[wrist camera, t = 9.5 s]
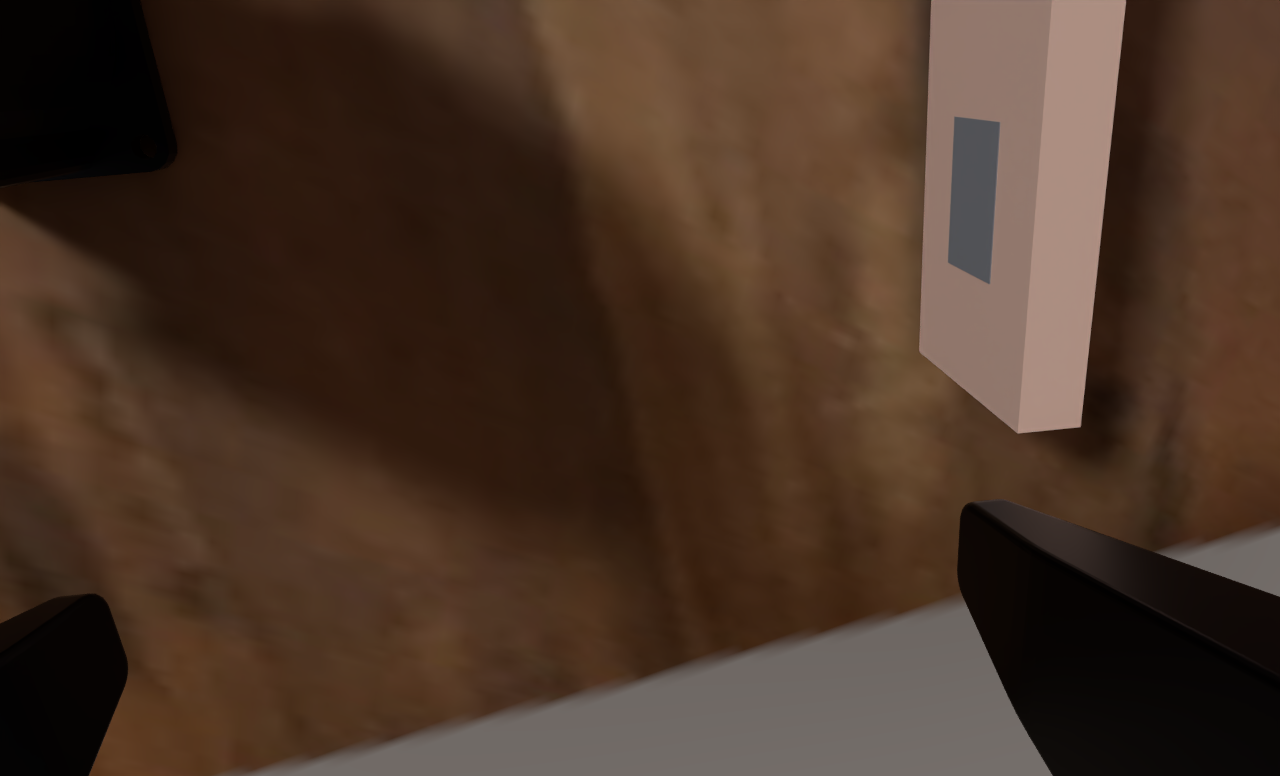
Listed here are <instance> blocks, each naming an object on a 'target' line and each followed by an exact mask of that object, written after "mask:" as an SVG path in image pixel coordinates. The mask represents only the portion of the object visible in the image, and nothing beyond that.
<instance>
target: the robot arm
mask: <svg viewBox="0 0 1280 776" xmlns="http://www.w3.org/2000/svg"><path fill="white" fill-rule="evenodd" d="M143 135H147V136H149V137H150V138H151V139H153V140H154V142H155V144H156V146H157V153H156V154H155V156H154V157H149V156H147V155H146V154H145V153H144V152H143V151H142V149H141V147H140V140H141V138H142V137H143ZM176 155H177V143H176V139H175V135H174V131H173V128H172V124H171V120H170V116H169V112H168V108H167V104H166V100H165V97H164V93H163V89H162V85H161V81H160V77H159V73H158V69H157V66H156V62H155V58H154V54H153V50H152V46H151V42H150V39H149V35H148V31H147V27H146V23H145V19H144V15H143V11H142V8H141V4H140V0H0V188H3V187H8V186H13V185H18V184H23V183H28V182H38V181H50V180H61V179H73V178H84V177H95V176H107V175H118V174H129V173H141V172H151V171H155V170H160V169H163V168H166V167H168V166H169V165H170V164H172V163H173V162H174V160H175V157H176ZM957 575H958V582H959V587H960V590H961V593H962V596H963V598H964V600H965V602H966V605H967V607H968V609H969V611H970V613H971V616H972V618H973V620H974V622H975V624H976V627H977V629H978V631H979V633H980V635H981V637H982V640H983V642H984V644H985V647H986V649H987V651H988V653H989V655H990V658H991V660H992V662H993V664H994V666H995V669H996V671H997V673H998V675H999V677H1000V680H1001V682H1002V684H1003V686H1004V689H1005V691H1006V693H1007V695H1008V697H1009V699H1010V701H1011V703H1012V705H1013V707H1014V709H1015V712H1016V714H1017V715H1018V717H1019V719H1020V721H1021V723H1022V724H1023V726H1024V728H1025V730H1026V731H1027V733H1028V735H1029V737H1030V738H1031V740H1032V741H1033V743H1034V745H1035V746H1036V748H1037V750H1038V752H1039V753H1040V755H1041V757H1042V758H1043V760H1044V762H1045V764H1046V765H1047V767H1048V768H1049V770H1050V772H1051V774H1052V775H1053V776H1280V597H1279V596H1276V595H1273V594H1270V593H1267V592H1264V591H1262V590H1259V589H1256V588H1253V587H1250V586H1247V585H1245V584H1242V583H1239V582H1236V581H1233V580H1231V579H1227V578H1225V577H1222V576H1219V575H1216V574H1214V573H1211V572H1208V571H1205V570H1202V569H1200V568H1197V567H1194V566H1191V565H1188V564H1185V563H1183V562H1180V561H1177V560H1174V559H1171V558H1168V557H1166V556H1163V555H1160V554H1157V553H1154V552H1152V551H1149V550H1146V549H1143V548H1140V547H1137V546H1135V545H1132V544H1129V543H1126V542H1123V541H1120V540H1118V539H1115V538H1112V537H1109V536H1106V535H1104V534H1101V533H1098V532H1095V531H1092V530H1089V529H1087V528H1084V527H1081V526H1078V525H1075V524H1072V523H1070V522H1067V521H1064V520H1061V519H1058V518H1055V517H1053V516H1050V515H1047V514H1044V513H1041V512H1039V511H1036V510H1033V509H1030V508H1027V507H1024V506H1022V505H1019V504H1016V503H1013V502H1010V501H1007V500H1004V499H996V500H986V501H977V502H971V503H967V504H966V505H965V506H964V508H963V509H962V513H961V516H960V529H959V547H958V565H957ZM127 675H128V662H127V657H126V654H125V651H124V648H123V645H122V642H121V640H120V637H119V634H118V631H117V628H116V625H115V622H114V619H113V617H112V614H111V611H110V608H109V606H108V604H107V602H106V601H105V600H104V598H103V597H101V596H99V595H97V594H80V595H70V596H61V597H56V598H53V599H51V600H48V601H46V602H44V603H42V604H40V605H38V606H36V607H34V608H32V609H30V610H28V611H25V612H23V613H21V614H19V615H17V616H15V617H13V618H11V619H9V620H7V621H5V622H3V623H0V776H89V774H90V771H91V769H92V766H93V764H94V761H95V759H96V757H97V754H98V752H99V749H100V747H101V744H102V742H103V739H104V737H105V734H106V732H107V729H108V727H109V724H110V722H111V719H112V717H113V714H114V712H115V709H116V707H117V705H118V702H119V700H120V697H121V695H122V692H123V690H124V687H125V684H126V681H127Z"/></svg>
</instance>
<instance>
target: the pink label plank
mask: <svg viewBox="0 0 1280 776" xmlns="http://www.w3.org/2000/svg"><path fill="white" fill-rule="evenodd" d="M1125 6H1126V0H931V26H930V55H929V84H928V113H927V142H926V170H925V199H924V228H923V257H922V286H921V315H920V344H919V352H920V353H921V354H923V355H924V356H925V357H926V358H927V359H929V360H930V361H931V362H932V363H933V364H935V365H936V366H937V367H938V368H939V369H941V370H942V371H943V372H944V373H945V374H947V375H948V376H949V377H950V378H951V379H953V380H954V381H955V382H956V383H957V384H959V385H960V386H961V387H962V388H964V389H965V390H966V391H967V392H968V393H970V394H971V395H972V396H973V397H974V398H976V399H977V400H978V401H979V402H980V403H982V404H983V405H984V406H985V407H986V408H988V409H989V410H990V411H991V412H992V413H994V414H995V415H996V416H997V417H998V418H1000V419H1001V420H1002V421H1003V422H1005V423H1006V424H1007V425H1008V426H1009V427H1011V428H1012V429H1013V430H1014V431H1015V432H1017V433H1027V432H1037V431H1047V430H1057V429H1067V428H1077V427H1081V419H1082V409H1083V400H1084V390H1085V381H1086V372H1087V362H1088V353H1089V344H1090V334H1091V325H1092V315H1093V306H1094V297H1095V287H1096V278H1097V269H1098V259H1099V250H1100V240H1101V231H1102V222H1103V212H1104V203H1105V194H1106V184H1107V175H1108V165H1109V156H1110V147H1111V137H1112V128H1113V119H1114V109H1115V100H1116V90H1117V81H1118V72H1119V62H1120V53H1121V44H1122V34H1123V25H1124V15H1125Z"/></svg>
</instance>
